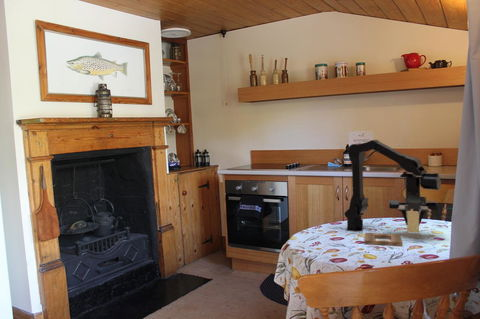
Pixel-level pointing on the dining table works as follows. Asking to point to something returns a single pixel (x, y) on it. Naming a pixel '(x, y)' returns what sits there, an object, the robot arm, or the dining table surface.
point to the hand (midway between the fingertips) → (412, 224)
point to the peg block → (412, 221)
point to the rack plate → (377, 240)
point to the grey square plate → (412, 235)
